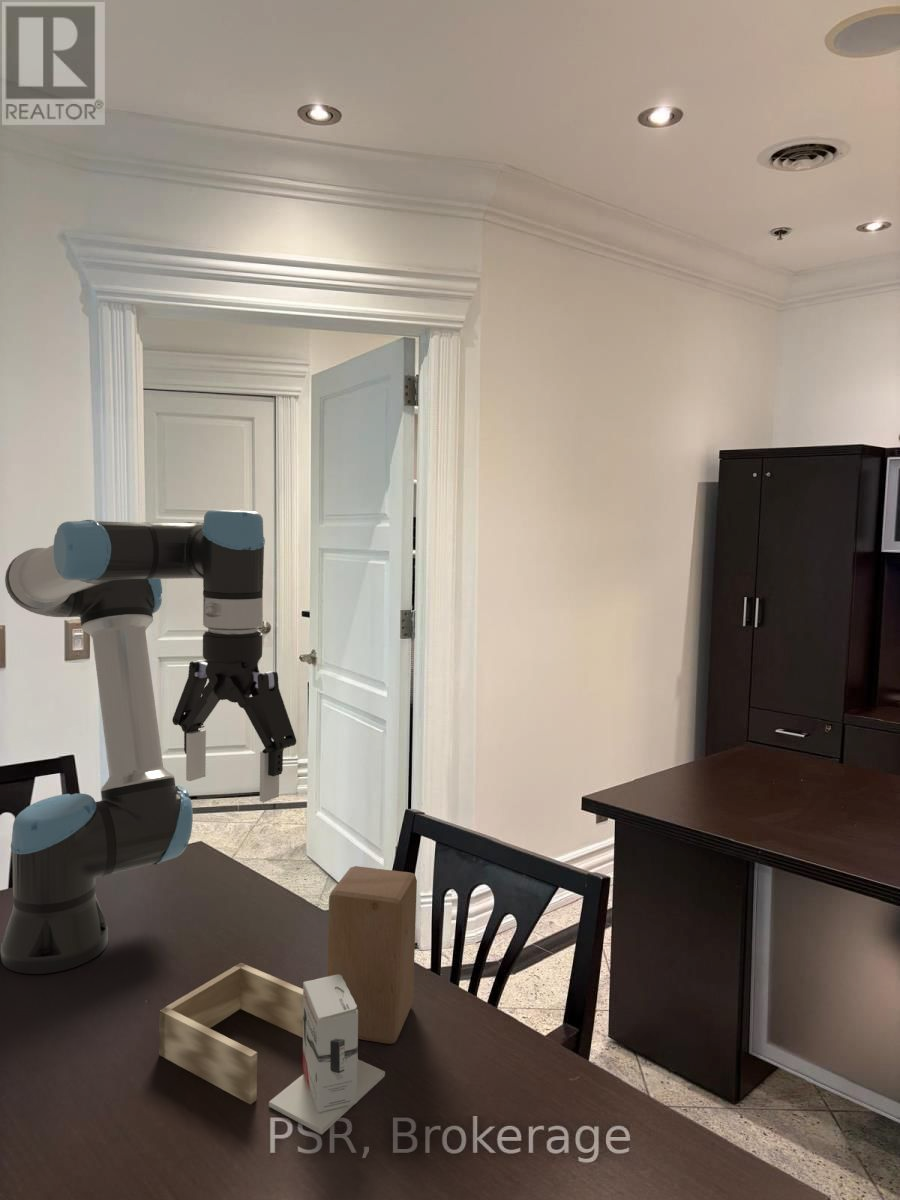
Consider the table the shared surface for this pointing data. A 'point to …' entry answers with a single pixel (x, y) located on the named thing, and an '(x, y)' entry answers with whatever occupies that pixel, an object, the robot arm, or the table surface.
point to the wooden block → (375, 946)
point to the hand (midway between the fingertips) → (231, 788)
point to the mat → (302, 1106)
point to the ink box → (330, 1042)
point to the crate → (211, 1003)
